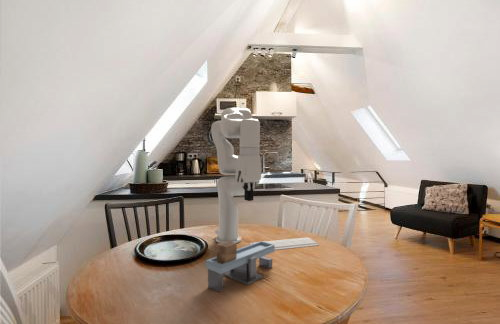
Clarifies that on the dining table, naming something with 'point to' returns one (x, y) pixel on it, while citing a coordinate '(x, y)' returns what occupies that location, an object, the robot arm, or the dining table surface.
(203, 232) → the dining table surface
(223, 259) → the rider
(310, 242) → the baseboard molding
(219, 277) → the stand
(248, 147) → the robot arm
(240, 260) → the beam
